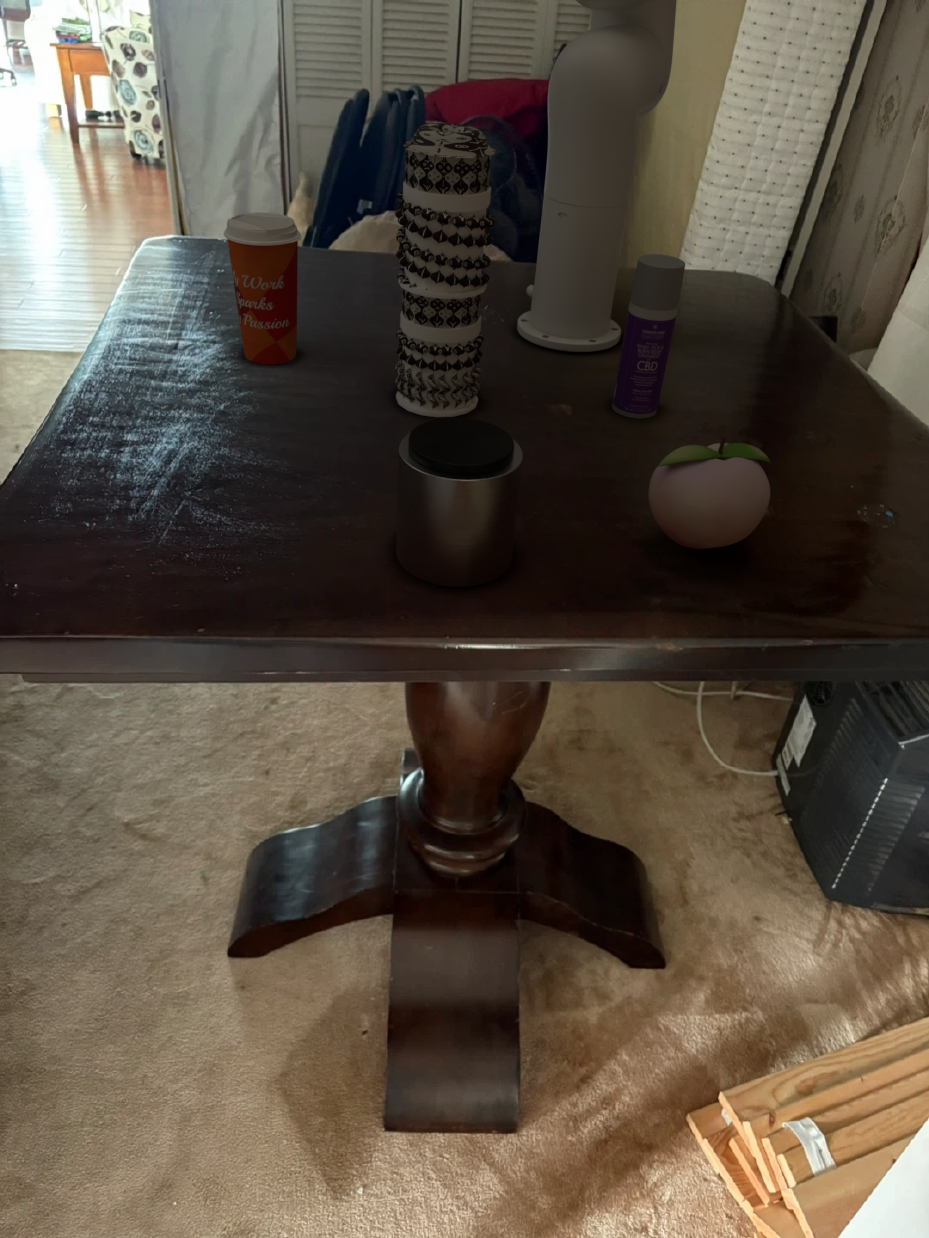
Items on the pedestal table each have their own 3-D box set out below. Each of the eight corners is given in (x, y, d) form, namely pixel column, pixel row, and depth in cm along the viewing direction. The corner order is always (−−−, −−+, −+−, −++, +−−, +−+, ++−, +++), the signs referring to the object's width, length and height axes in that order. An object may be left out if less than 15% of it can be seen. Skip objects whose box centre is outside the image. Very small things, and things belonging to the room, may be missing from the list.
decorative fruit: (678, 589, 70) (707, 472, 64) (622, 534, 76) (644, 422, 70) (776, 567, 73) (813, 454, 67) (715, 516, 79) (744, 408, 73)
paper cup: (220, 359, 99) (206, 223, 91) (259, 337, 105) (249, 207, 97) (283, 374, 97) (275, 236, 89) (319, 350, 103) (315, 219, 94)
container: (628, 421, 93) (656, 270, 84) (602, 403, 96) (627, 255, 87) (665, 414, 95) (696, 266, 86) (638, 397, 98) (666, 252, 89)
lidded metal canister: (379, 535, 73) (380, 421, 67) (481, 516, 77) (490, 406, 71) (422, 597, 67) (427, 478, 61) (531, 574, 70) (546, 459, 64)
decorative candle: (373, 397, 94) (373, 123, 79) (436, 374, 100) (448, 115, 85) (436, 427, 89) (451, 143, 74) (499, 402, 95) (524, 133, 80)
